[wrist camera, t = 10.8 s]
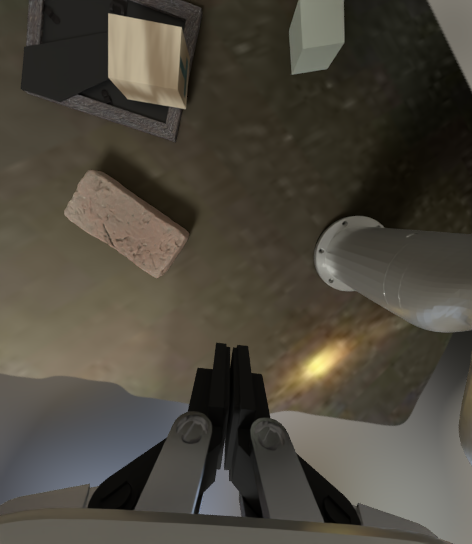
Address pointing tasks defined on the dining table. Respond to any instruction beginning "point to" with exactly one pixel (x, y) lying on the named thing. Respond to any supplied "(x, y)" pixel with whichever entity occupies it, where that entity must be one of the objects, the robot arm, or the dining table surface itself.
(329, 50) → the sage block
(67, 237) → the dining table surface
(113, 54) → the maple block
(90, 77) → the picture frame
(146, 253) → the brick
